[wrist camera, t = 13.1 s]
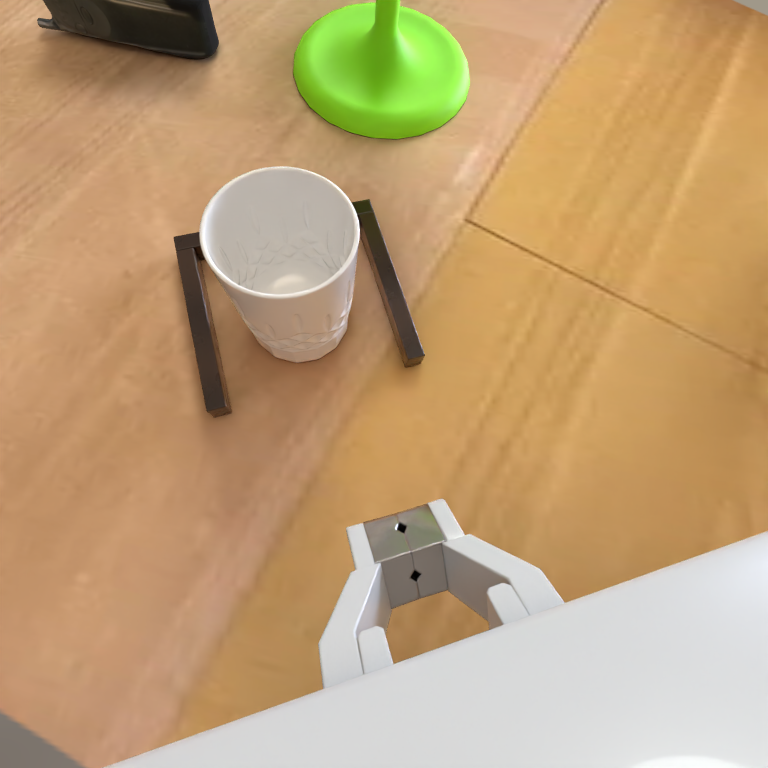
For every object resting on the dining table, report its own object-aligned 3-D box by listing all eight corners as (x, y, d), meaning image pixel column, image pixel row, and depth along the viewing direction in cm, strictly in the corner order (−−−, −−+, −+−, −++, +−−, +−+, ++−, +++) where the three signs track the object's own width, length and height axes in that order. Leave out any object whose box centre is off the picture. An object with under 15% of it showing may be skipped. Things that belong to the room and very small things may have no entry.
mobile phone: (208, -21, 35) (11, -60, 34) (198, 4, 34) (-5, -35, 33) (223, 44, 40) (50, 11, 39) (215, 68, 39) (37, 35, 38)
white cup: (322, 390, 30) (310, 325, 21) (221, 339, 31) (165, 253, 21) (375, 300, 32) (386, 205, 23) (281, 254, 33) (255, 143, 24)
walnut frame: (421, 363, 31) (425, 355, 30) (213, 418, 29) (206, 411, 27) (368, 213, 35) (369, 198, 33) (181, 250, 33) (173, 236, 31)
